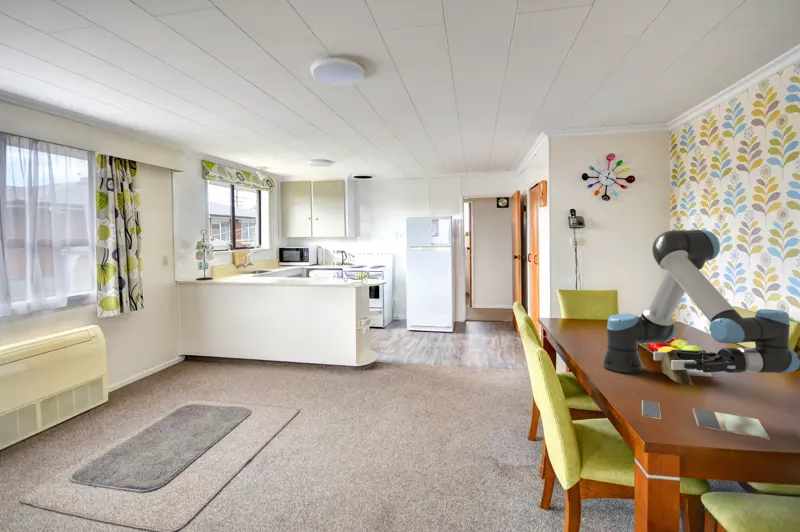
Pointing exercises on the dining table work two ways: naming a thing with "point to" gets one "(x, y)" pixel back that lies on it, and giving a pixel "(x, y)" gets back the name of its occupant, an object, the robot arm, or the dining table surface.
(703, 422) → the trap middle
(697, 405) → the dining table surface
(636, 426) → the dining table surface
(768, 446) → the dining table surface
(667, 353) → the rock
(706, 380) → the dining table surface
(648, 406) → the trap near
